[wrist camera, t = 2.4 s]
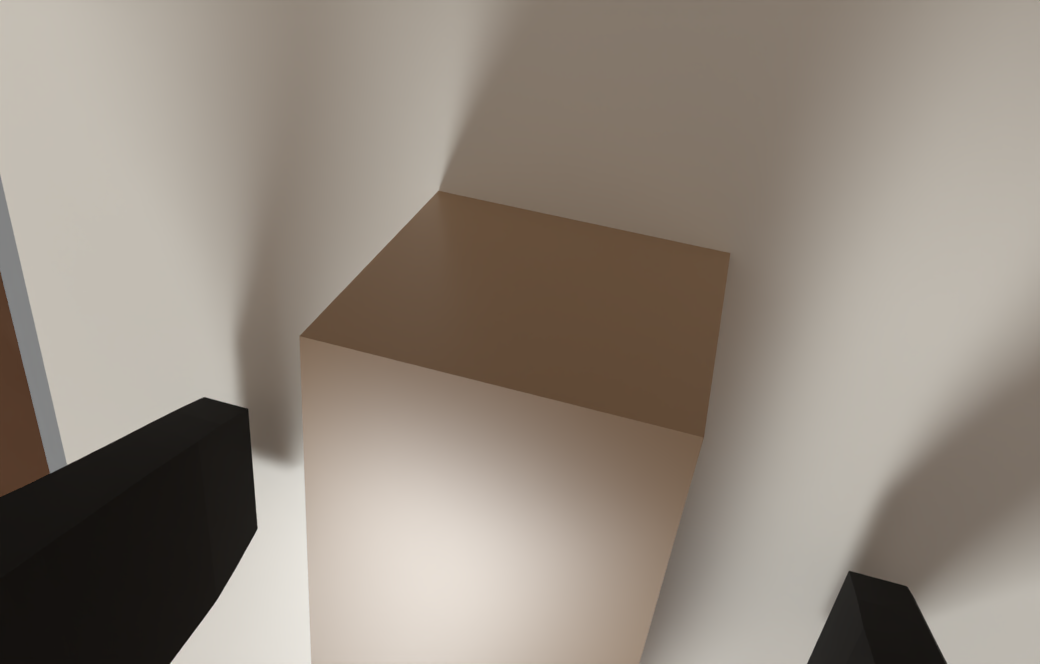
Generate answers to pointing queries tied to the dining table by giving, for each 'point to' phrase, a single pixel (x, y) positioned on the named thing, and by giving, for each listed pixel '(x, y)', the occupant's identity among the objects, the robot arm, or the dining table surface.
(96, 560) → the robot arm
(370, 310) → the lid
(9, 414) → the dining table surface
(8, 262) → the mat
